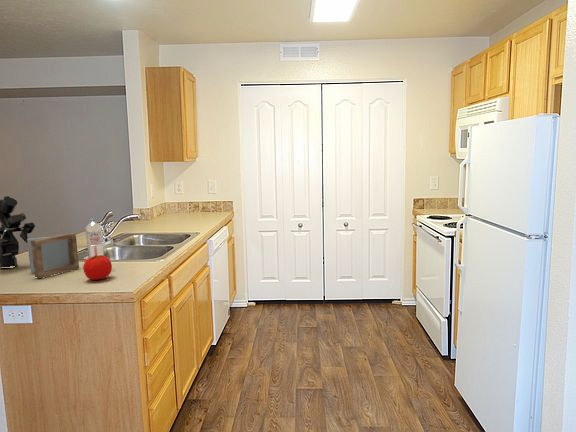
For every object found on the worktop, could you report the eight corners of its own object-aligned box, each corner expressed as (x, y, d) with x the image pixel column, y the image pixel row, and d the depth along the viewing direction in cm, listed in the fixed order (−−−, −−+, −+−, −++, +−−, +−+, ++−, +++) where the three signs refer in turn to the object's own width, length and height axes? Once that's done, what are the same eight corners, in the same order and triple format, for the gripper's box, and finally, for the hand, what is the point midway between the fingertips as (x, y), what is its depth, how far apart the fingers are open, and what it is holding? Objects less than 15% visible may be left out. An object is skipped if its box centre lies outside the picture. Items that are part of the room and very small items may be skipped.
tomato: (104, 274, 207) (102, 250, 206) (117, 278, 200) (115, 253, 199) (79, 280, 198) (76, 255, 197) (92, 284, 191) (89, 259, 190)
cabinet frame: (35, 278, 204) (30, 240, 202) (73, 267, 222) (70, 233, 219) (40, 279, 203) (36, 241, 200) (79, 268, 220) (75, 233, 218)
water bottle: (107, 268, 218) (102, 217, 214) (101, 272, 211) (97, 219, 208) (93, 269, 218) (88, 218, 214) (87, 273, 211) (82, 220, 207)
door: (31, 271, 215) (27, 238, 213) (70, 266, 223) (67, 234, 221) (30, 272, 213) (27, 239, 211) (70, 267, 221) (67, 235, 218)
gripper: (-8, 211, 210) (9, 235, 206) (30, 206, 226) (47, 229, 222) (-16, 227, 214) (1, 251, 211) (23, 221, 231) (38, 243, 227)
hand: (22, 243), depth 218 cm, fingers open, 4 cm apart
